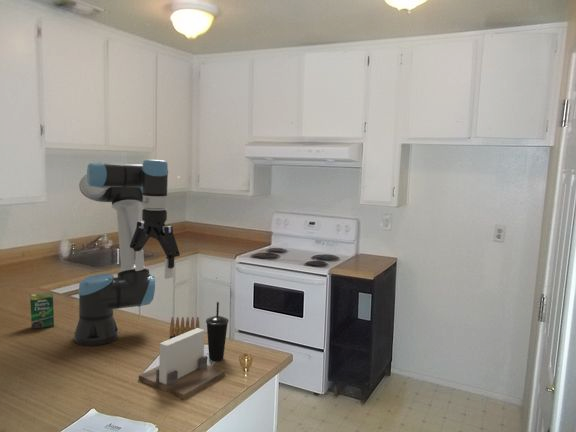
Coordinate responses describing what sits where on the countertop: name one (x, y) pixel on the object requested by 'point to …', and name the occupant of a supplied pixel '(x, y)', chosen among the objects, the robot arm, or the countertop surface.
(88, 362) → the countertop surface
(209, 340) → the drinking cup
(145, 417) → the countertop surface
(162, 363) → the door panel
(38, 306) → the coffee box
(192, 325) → the ammunition clip
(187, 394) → the clip board
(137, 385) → the countertop surface
